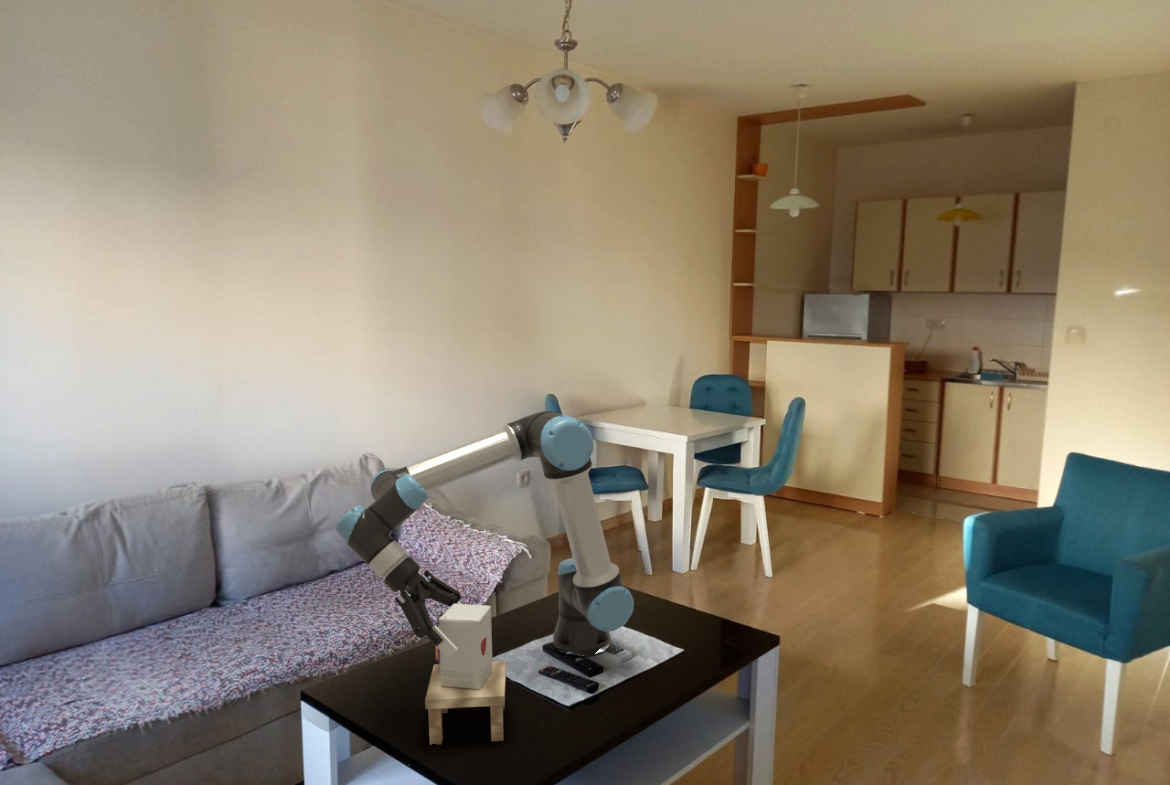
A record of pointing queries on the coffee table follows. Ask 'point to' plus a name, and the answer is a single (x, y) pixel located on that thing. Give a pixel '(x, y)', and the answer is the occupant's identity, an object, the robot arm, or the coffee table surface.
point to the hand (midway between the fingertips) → (464, 639)
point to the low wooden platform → (466, 700)
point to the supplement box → (467, 646)
